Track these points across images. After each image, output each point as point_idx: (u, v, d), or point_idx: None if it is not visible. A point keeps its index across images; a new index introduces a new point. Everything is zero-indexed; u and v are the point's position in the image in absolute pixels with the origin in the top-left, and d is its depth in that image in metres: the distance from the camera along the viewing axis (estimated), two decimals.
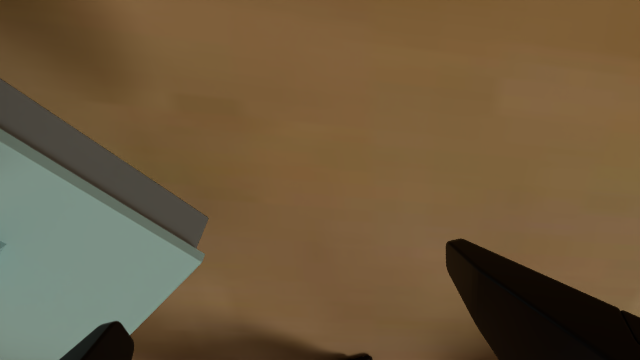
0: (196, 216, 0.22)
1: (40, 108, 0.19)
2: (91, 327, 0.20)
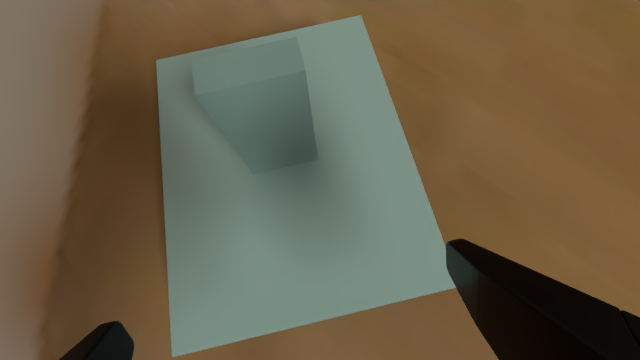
0: None
1: None
2: (287, 281, 0.16)
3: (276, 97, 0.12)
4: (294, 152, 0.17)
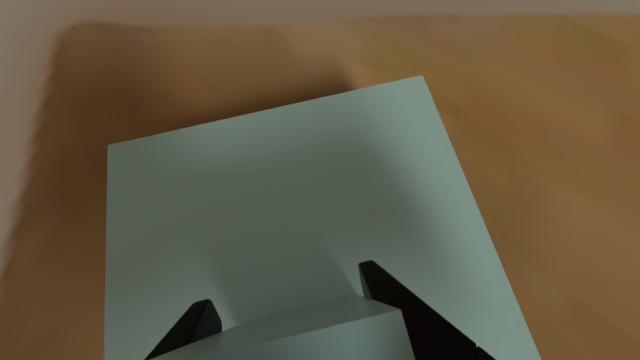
0: None
1: None
2: None
3: None
4: None
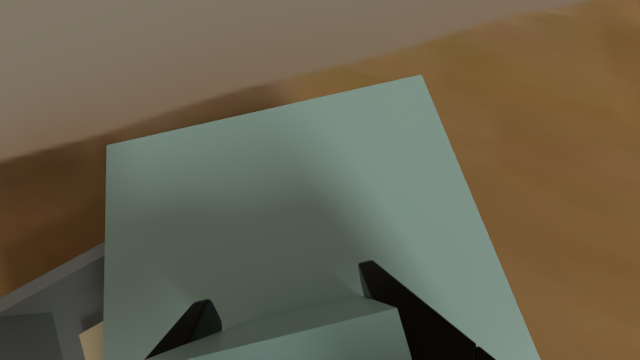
0: None
1: None
2: None
3: None
4: None
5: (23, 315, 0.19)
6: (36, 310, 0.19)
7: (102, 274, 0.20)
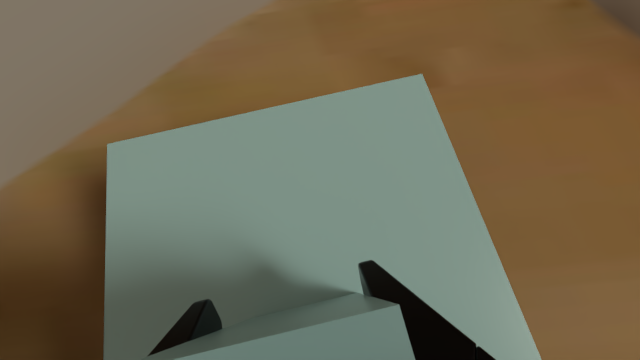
0: None
1: None
2: None
3: None
4: None
5: None
6: None
7: None
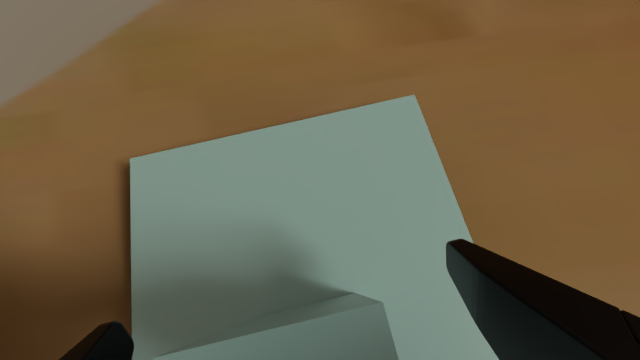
0: None
1: None
2: None
3: None
4: None
5: None
6: None
7: None
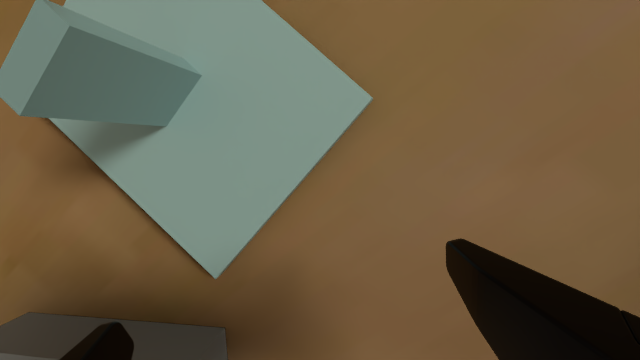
0: (208, 333, 0.21)
1: (81, 318, 0.24)
2: (249, 185, 0.18)
3: (83, 64, 0.12)
4: (172, 86, 0.17)
5: None
6: None
7: None
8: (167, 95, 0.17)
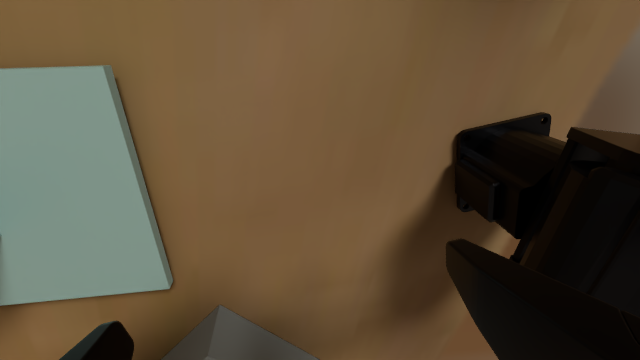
0: (211, 318, 0.24)
1: None
2: (109, 214, 0.19)
3: None
4: None
5: None
6: None
7: None
8: None
